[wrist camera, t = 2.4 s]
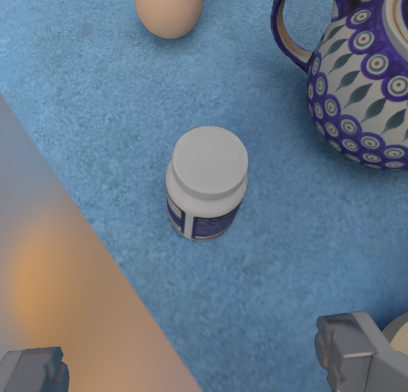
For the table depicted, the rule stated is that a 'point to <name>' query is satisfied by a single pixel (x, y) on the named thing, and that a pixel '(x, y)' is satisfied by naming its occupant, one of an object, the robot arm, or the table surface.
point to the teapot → (358, 79)
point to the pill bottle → (206, 182)
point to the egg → (169, 16)
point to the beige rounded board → (398, 333)
